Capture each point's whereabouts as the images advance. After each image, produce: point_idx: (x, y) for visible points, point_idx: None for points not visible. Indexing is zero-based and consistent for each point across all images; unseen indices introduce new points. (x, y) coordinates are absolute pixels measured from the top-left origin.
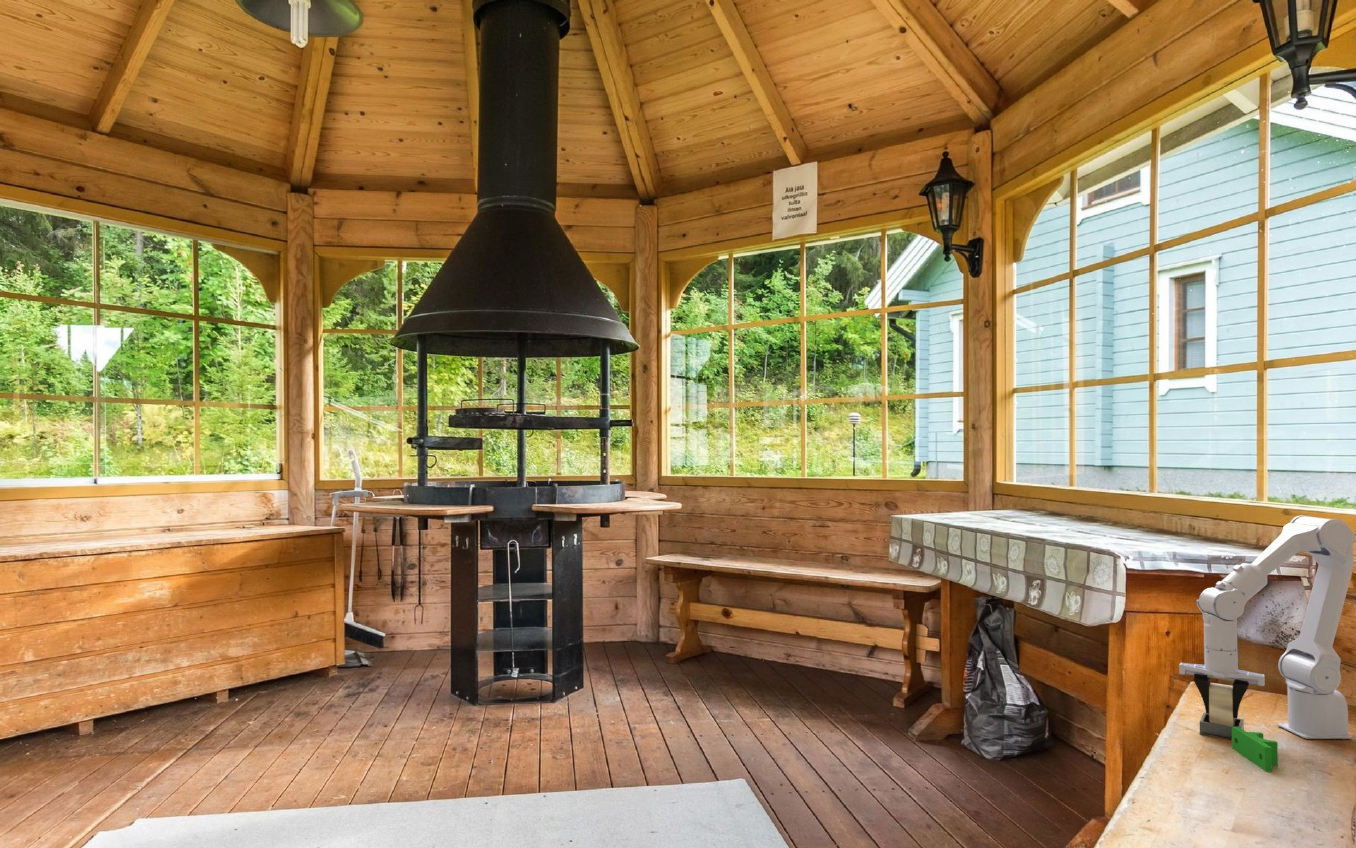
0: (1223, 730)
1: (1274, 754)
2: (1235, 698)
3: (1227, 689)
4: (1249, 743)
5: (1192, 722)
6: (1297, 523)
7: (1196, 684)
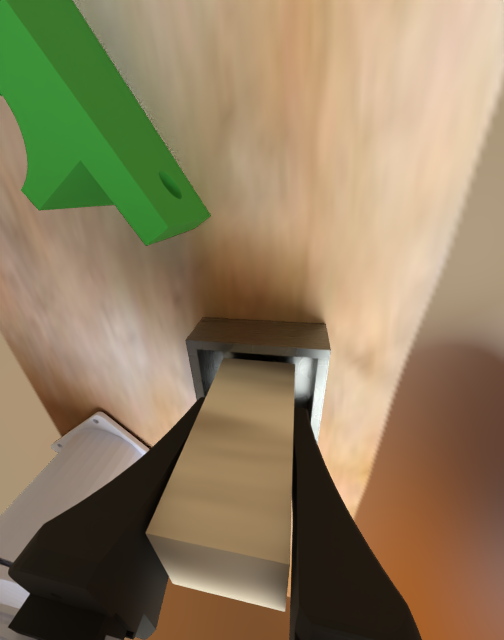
0: (246, 333)
1: None
2: (153, 472)
3: (172, 541)
4: (49, 32)
5: (345, 421)
6: None
7: (390, 589)
